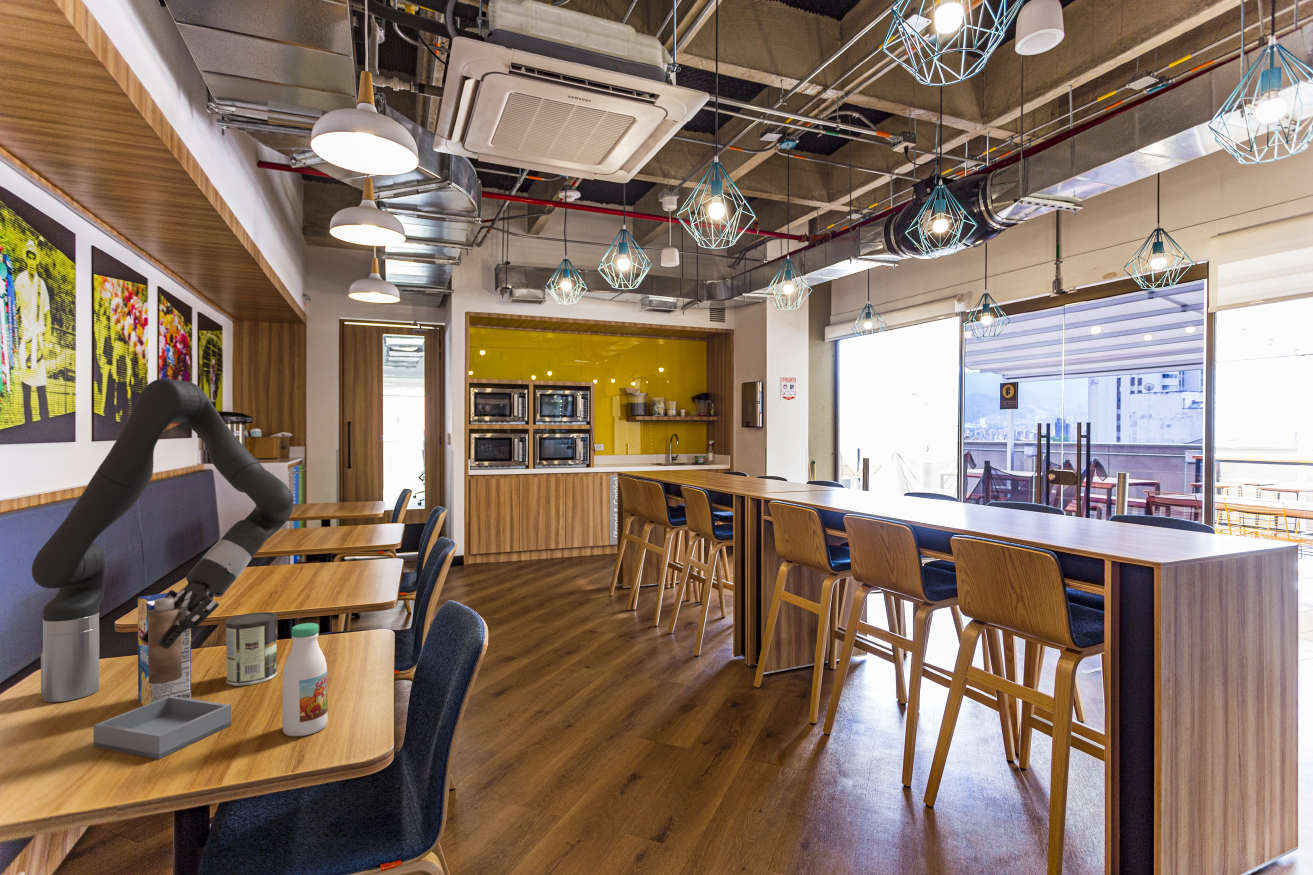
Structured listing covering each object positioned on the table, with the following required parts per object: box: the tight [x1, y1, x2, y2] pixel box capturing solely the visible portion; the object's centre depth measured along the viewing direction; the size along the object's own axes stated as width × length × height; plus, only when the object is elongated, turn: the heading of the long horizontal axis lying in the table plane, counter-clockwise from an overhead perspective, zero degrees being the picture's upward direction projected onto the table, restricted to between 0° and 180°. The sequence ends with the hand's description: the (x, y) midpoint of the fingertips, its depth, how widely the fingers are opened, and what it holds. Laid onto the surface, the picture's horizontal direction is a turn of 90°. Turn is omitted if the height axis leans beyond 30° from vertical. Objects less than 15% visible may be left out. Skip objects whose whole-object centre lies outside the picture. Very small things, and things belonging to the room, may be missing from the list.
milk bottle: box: [281, 622, 329, 737], centre depth 128 cm, size 8×8×20 cm
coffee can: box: [225, 611, 278, 687], centre depth 155 cm, size 10×10×14 cm
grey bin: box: [93, 696, 232, 760], centre depth 125 cm, size 16×14×4 cm
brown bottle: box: [148, 598, 182, 684], centre depth 125 cm, size 5×5×15 cm
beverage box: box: [137, 592, 192, 706], centre depth 141 cm, size 7×11×22 cm, turn 49°
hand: (154, 643), depth 123 cm, fingers closed on brown bottle, 5 cm apart
